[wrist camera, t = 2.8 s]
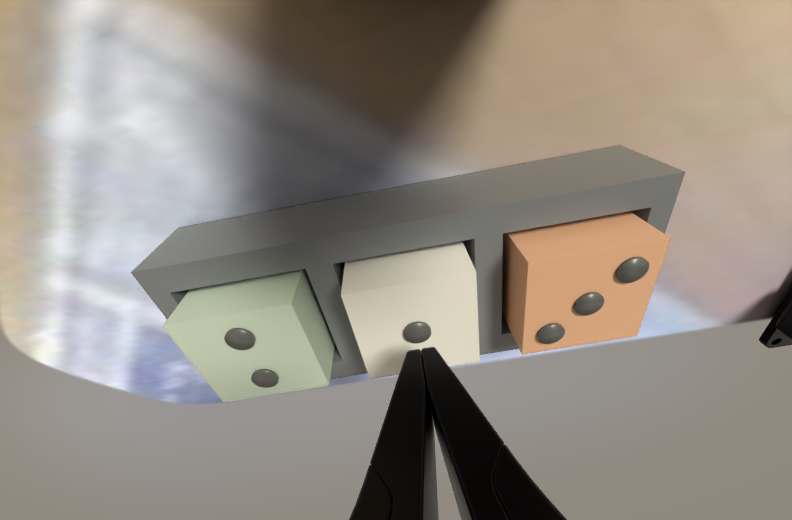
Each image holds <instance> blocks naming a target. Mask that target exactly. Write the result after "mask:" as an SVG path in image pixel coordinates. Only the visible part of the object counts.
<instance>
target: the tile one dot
mask: <svg viewBox="0 0 792 520" xmlns="http://www.w3.org/2000/svg"><path fill="white" fill-rule="evenodd" d="M341 297H342V300H343V303H344V306H345V309H346V312H347V315H348V317H349V320H350V323H351V326H352V329H353V332H354V335H355V338H356V341H357V343H358V346H359V349H360V352H361V355H362V358H363V361H364V364H365V367H366V369H367V372H368V375H369V378H370V379H373V378H379V377H386V376H392V375H398V374H400V370H401V367H402V364H403V361H404V358H405V355H406V353H407V351H409V350H416V349H420V350H422V349H423V348H428V347H435V348H436V349H437V351H438V352H439V353H440V355H441V356H442V357H443V359H444V360H445V362H446V363H447V364H448V366H454V365H460V364H466V363H472V362H479V361H480V350H479V326H478V301H477V277H476V270H475V268H474V266H473V264H472V261H471V259H470V257H469V255H468V253H467V250H466V248H465V246H464V244H463V242H462V241H459V242H453V243H448V244H442V245H436V246H431V247H425V248H419V249H414V250H408V251H403V252H397V253H391V254H386V255H380V256H374V257H369V258H363V259H358V260H352V261H346V262H345V266H344V274H343V282H342V290H341Z"/></svg>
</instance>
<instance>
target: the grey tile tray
mask: <svg viewBox="0 0 792 520" xmlns="http://www.w3.org/2000/svg"><path fill="white" fill-rule="evenodd" d="M684 174H685V171H682V170H680V169H677V168H675V167H672V166H670V165H667V164H665V163H662V162H660V161H657V160H655V159H652V158H650V157H648V156H645V155H643V154H640V153H638V152H635V151H633V150H630V149H628V148H625V147H623V146H620V145H619V146H613V147H608V148H603V149H597V150H592V151H587V152H581V153H576V154H571V155H565V156H560V157H555V158H549V159H544V160H538V161H533V162H528V163H522V164H517V165H512V166H506V167H501V168H496V169H490V170H485V171H480V172H474V173H469V174H463V175H458V176H453V177H447V178H442V179H437V180H431V181H426V182H421V183H415V184H410V185H405V186H399V187H394V188H388V189H383V190H378V191H372V192H367V193H362V194H356V195H351V196H346V197H340V198H335V199H330V200H324V201H319V202H313V203H308V204H303V205H297V206H292V207H287V208H281V209H276V210H271V211H265V212H260V213H255V214H249V215H244V216H238V217H233V218H228V219H222V220H217V221H212V222H206V223H201V224H196V225H190V226H185V227H180V228H178V229H177V230H175V231H174V232H173V233H172V234H171V235H170V236H169V237H168V238H167V239H166V240H165V241H164V242H163V243H162V244H161V245H159V246H158V247H157V248H156V249H155V250H154V251H153V252H152V253H151V254H150V255H149V256H148V257H147V258H146V259H145V260H144V261H142V262H141V263H140V264H139V265H138V266H137V267H136V268H135V269H134V270H133V271H132V272H131V273H132V274H133V276H134V277H135V278H136V280H137V281H138V282H139V283H140V285H141V286H142V287H143V289H144V290H145V291H146V293H147V294H148V295H149V296H150V298H151V299H152V300H153V302H154V303H155V304H156V305H157V307H158V308H159V309H160V311H161V312H162V313H163V314H164V316H165V317H166V318H167V319H168V318H169V317H170V315H171V314H172V313H173V311H174V310H175V309H176V307H177V306H178V305H179V303H180V302H181V301H182V299H183V298H184V297H185V295H186V294H187V293H188V291H189V290H190V289H194V288H200V287H206V286H211V285H217V284H223V283H228V282H234V281H239V280H245V279H251V278H256V277H262V276H268V275H273V274H279V273H284V272H290V271H296V270H301V269H306V272H307V274H308V276H309V279H310V281H311V284H312V286H313V289H314V291H315V294H316V296H317V299H318V301H319V304H320V306H321V309H322V311H323V314H324V316H325V319H326V321H327V324H328V326H329V329H330V331H331V334H332V336H333V339H334V341H335V345H334V353H333V361H332V369H331V377H330V379H334V378H340V377H346V376H352V375H359V374H365V373H368V372H367V369H366V367H365V364H364V361H363V358H362V355H361V352H360V349H359V346H358V343H357V341H356V338H355V335H354V332H353V329H352V326H351V323H350V320H349V317H348V315H347V312H346V309H345V306H344V303H343V300H342V297H341V290H342V282H343V274H344V266H345V262H346V261H352V260H358V259H363V258H369V257H374V256H380V255H386V254H391V253H397V252H403V251H408V250H414V249H419V248H425V247H431V246H436V245H442V244H448V243H453V242H459V241H462V242H463V244H464V246H465V248H466V250H467V253H468V255H469V257H470V259H471V261H472V264H473V266H474V268H475V270H476V277H477V301H478V326H479V350H480V355H482V354H488V353H494V352H501V351H507V350H513V349H519V347H518V345H517V343H516V341H515V339H514V337H513V335H512V333H511V331H510V328H509V326H508V324H507V322H506V320H505V318H504V316H503V314H502V261H503V234H504V233H509V232H515V231H521V230H526V229H532V228H538V227H543V226H549V225H554V224H560V223H566V222H571V221H577V220H583V219H588V218H594V217H599V216H605V215H611V214H616V213H622V212H628V211H630V212H631V213H633V214H635V215H636V216H638V217H639V218H641V219H642V220H644V221H645V222H647V223H648V224H650V225H652V226H653V227H655V228H656V229H658V230H659V231H661V232H662V233H664V234H665V231H666V228H667V225H668V222H669V219H670V216H671V213H672V210H673V207H674V204H675V201H676V198H677V195H678V192H679V189H680V186H681V183H682V180H683V177H684Z"/></svg>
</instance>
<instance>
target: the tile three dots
mask: <svg viewBox="0 0 792 520" xmlns="http://www.w3.org/2000/svg"><path fill="white" fill-rule="evenodd" d="M670 239H671V238H670V237H669V236H667V235H666V234H664V233H662V232H661V231H659V230H658V229H656V228H655V227H653V226H652V225H650V224H648V223H647V222H645V221H644V220H642V219H641V218H639V217H638V216H636V215H635V214H633V213H631V212H630V211H628V212H622V213H616V214H611V215H605V216H599V217H594V218H588V219H583V220H577V221H571V222H566V223H560V224H554V225H549V226H543V227H538V228H532V229H526V230H521V231H515V232H509V233H504V234H503V261H502V314H503V316H504V318H505V320H506V322H507V324H508V326H509V328H510V331H511V333H512V335H513V337H514V339H515V341H516V343H517V345H518V347H519V349H520V351H521V353H522V354H528V353H535V352H541V351H547V350H553V349H559V348H566V347H572V346H578V345H584V344H590V343H597V342H603V341H609V340H615V339H621V338H628V337H634V336H637V334H638V331H639V328H640V326H641V323H642V320H643V317H644V314H645V311H646V308H647V305H648V303H649V300H650V297H651V294H652V291H653V288H654V285H655V283H656V280H657V277H658V274H659V271H660V268H661V265H662V262H663V260H664V257H665V254H666V251H667V248H668V245H669V242H670Z"/></svg>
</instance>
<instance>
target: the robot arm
mask: <svg viewBox="0 0 792 520" xmlns="http://www.w3.org/2000/svg"><path fill="white" fill-rule="evenodd" d="M759 341H760V342H761V343H762V344H764V345H765V346H766V347H768V348H774V347H780V346H786V345H792V289H791V291H790V293H789V294H788V296H787V297H786V299H785V300H784V302H783V303H782V305H781V306H780V308H779V309H778V311H777V312H776V314H775V315H774V317H773V318H772V320H771V322H770V323H769V325H768V326H767V328H766V329H765V331H764V332H763V334H762V335H761V337H760V339H759ZM432 416H433V417H432ZM433 421H434V425H435V429H436V433H437V437H438V440H439V443H440V447H441V450H442V453H443V457H444V461H445V464H446V467H447V471H448V474H449V478H450V482H451V485H452V488H453V492H454V495H455V499H456V502H457V506H458V509H459V513H460V516H461V519H462V520H566V518H565V517H564V516H563V515H562V514H561V513H560V512H559V511H558V509H557V508H556V507H555V506H554V505H553V504H552V503H551V502H550V501H549V499H548V498H547V497H546V496H545V495H544V493H543V492H542V491H541V490H540V489H539V487H538V486H537V485H536V484H535V483H534V482H533V480H532V479H531V478H530V477H529V475H528V474H527V473H526V471H525V470H524V469H523V468H522V466H521V465H520V464H519V463H518V461H517V460H516V458H515V457H514V456H513V454H512V453H511V451H510V450H509V449H508V447H507V446H506V445H504V442H503V441H502V439H501V438H500V437H499V435H498V434H497V432H496V431H495V430H494V428H493V427H492V425H491V424H490V423H489V421H488V420H487V419H486V417H485V416H484V414H483V413H482V412H481V410H480V409H479V407H478V406H477V405H476V403H475V402H474V400H473V399H472V398H471V397H470V395H469V394H468V392H467V391H466V389H465V388H464V387H463V385H462V384H461V383H460V381H459V380H458V378H457V377H456V376H455V374H454V373H453V372H452V370H451V369H450V367H449V366H448V364H447V363H446V362H445V360H444V359H443V357H442V356H441V355H440V353H439V352H438V351H437V349H436V348H435V347H428V348H423V349H422V350H420V349H416V350H409V351H407V353H406V355H405V358H404V361H403V364H402V367H401V370H400V374H399V377H398V380H397V383H396V386H395V389H394V392H393V395H392V398H391V401H390V404H389V407H388V410H387V413H386V416H385V419H384V423H383V425H382V428H381V432H380V435H379V438H378V441H377V444H376V447H375V450H374V453H373V456H372V459H371V465H370V466H369V468H368V471H367V474H366V477H365V480H364V483H363V486H362V488H361V491H360V494H359V497H358V499H357V502H356V505H355V507H354V510H353V512H352V514H351V517H350V519H349V520H438V500H437V481H436V460H435V441H434V425H433Z"/></svg>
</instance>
